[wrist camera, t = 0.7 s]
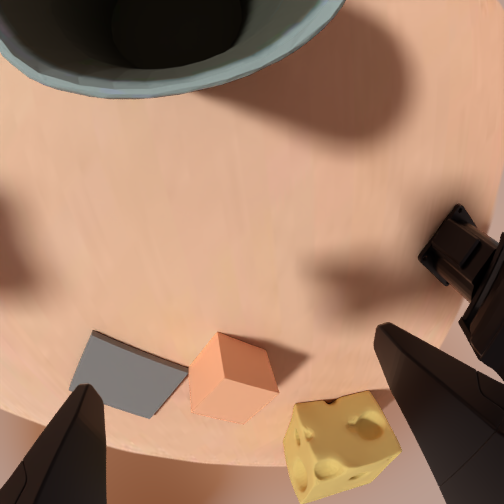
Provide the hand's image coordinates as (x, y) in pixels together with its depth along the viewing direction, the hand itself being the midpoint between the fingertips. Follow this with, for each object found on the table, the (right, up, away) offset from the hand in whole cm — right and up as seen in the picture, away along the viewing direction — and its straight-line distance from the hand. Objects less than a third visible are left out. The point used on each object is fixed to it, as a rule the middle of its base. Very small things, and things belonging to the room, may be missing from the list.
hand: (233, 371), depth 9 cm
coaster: (-11, -8, +17) cm, 22 cm away
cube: (-2, -6, +18) cm, 19 cm away
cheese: (+10, -18, +27) cm, 34 cm away
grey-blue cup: (-4, +17, +5) cm, 18 cm away
